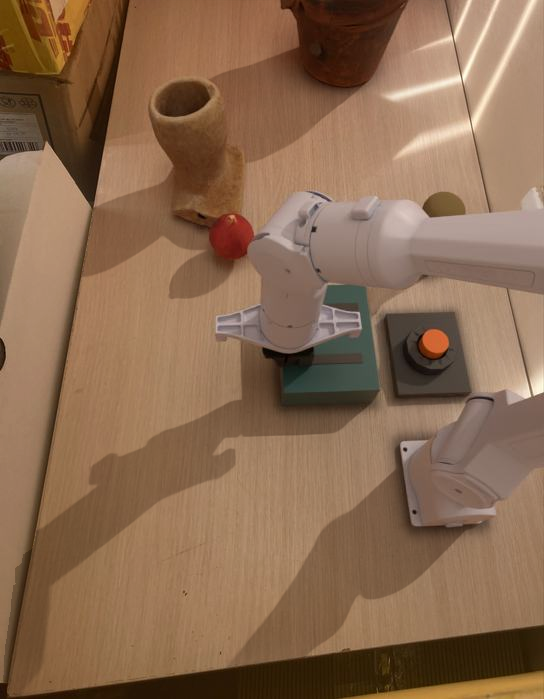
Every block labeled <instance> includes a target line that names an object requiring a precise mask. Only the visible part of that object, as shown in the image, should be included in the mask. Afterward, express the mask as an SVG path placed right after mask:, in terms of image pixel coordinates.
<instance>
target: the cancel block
mask: <svg viewBox="0 0 544 699" xmlns="http://www.w3.org/2000/svg"><path fill="white" fill-rule="evenodd" d="M383 321H384V327H385V333H386V340H387V341H386V342H387V347H388V353H389V360H390V367H391V374H392V380H393V387H394V394H395V398H396V399H404V398H405V399H407V398H431V397H433V398H434V397H435V398H437V397H463V396H464V397H465V396H466V397H468V396H469V395H471V394H472V393H473V392H472V387H471V383H470V377H469V372H468V367H467V363H466V359H465V354H464V349H463V345H462V340H461V335H460V330H459V326H458V321H457V316H456V312H455V311H447V312H446V311H444V312H442V311H441V312H407V313H406V312H404V313H386V314H385V315H384V317H383ZM431 329H437V330H440V331H442V332H443V333H444V334H445V335H446V336H447V338H448V340H449V346H448V348H447V350H446V351H445V352H444V353H443V355H442V356H441V357H439V358H436V359H430V358H427V357H425V356H424V355H423V354H422V353H421V352H420V350H419V347H418V344H419V341H420V339H421V337H422V336H423V335H424V333H425V332H426V331H428V330H431Z"/></svg>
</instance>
